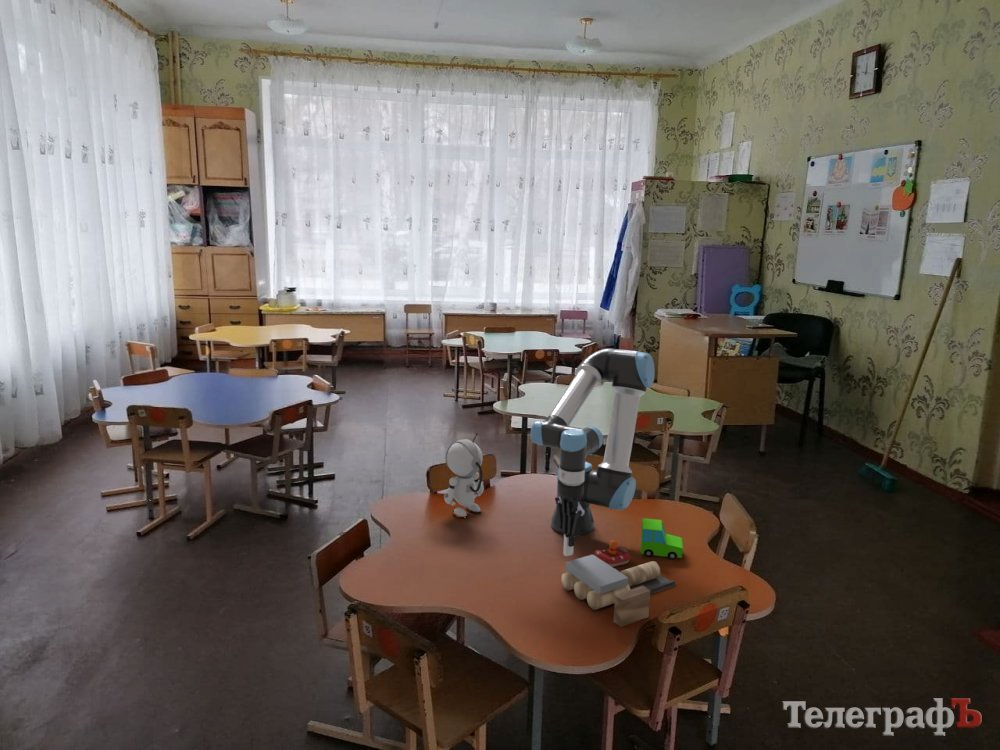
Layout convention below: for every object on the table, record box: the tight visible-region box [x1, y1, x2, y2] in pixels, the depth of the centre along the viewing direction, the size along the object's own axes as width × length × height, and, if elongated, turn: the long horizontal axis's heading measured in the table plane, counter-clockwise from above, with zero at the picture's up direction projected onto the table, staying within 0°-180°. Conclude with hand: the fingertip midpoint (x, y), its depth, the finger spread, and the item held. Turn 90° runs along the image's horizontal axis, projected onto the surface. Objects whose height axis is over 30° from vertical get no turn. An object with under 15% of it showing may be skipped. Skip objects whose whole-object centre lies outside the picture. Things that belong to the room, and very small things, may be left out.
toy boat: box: [593, 539, 631, 568], centre depth 224 cm, size 8×12×8 cm, turn 116°
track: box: [561, 571, 677, 628], centre depth 206 cm, size 26×30×8 cm
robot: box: [443, 432, 484, 517], centre depth 258 cm, size 14×13×29 cm
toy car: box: [640, 518, 684, 561], centre depth 231 cm, size 10×13×10 cm
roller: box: [619, 560, 661, 587], centre depth 212 cm, size 12×5×5 cm, turn 121°
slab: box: [565, 553, 628, 595], centre depth 205 cm, size 16×10×2 cm, turn 32°
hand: (568, 554), depth 216 cm, fingers closed
